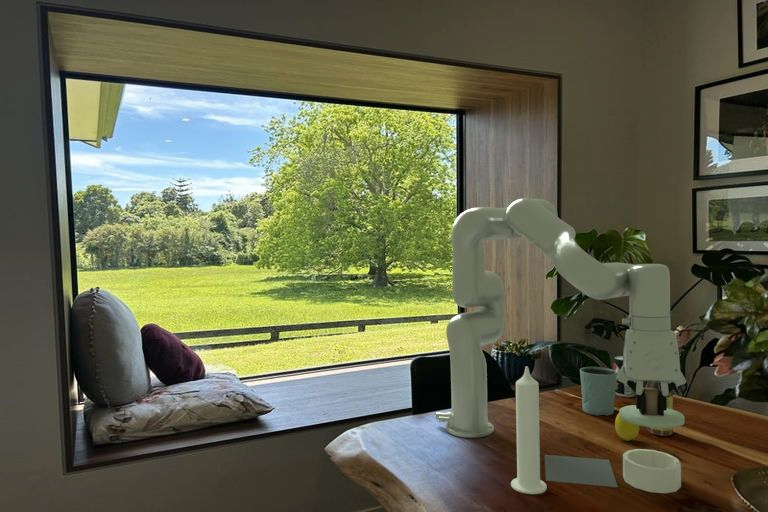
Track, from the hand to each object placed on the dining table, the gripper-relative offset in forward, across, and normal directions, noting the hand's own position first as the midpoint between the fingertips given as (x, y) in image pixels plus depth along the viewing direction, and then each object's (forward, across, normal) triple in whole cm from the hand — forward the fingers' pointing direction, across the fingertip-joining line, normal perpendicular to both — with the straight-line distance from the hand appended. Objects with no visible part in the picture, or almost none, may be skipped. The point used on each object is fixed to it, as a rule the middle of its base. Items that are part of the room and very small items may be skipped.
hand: (651, 412), depth 111 cm
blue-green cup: (+15, -5, +48) cm, 50 cm away
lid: (+1, 0, 0) cm, 1 cm away
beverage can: (+15, +5, +67) cm, 68 cm away
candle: (+15, -25, -8) cm, 30 cm away
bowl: (+15, 0, 0) cm, 15 cm away
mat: (+15, -14, +3) cm, 21 cm away
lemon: (+15, -1, +24) cm, 28 cm away
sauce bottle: (+15, +8, +32) cm, 36 cm away
